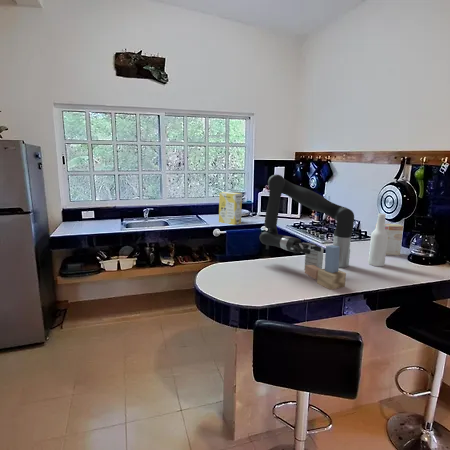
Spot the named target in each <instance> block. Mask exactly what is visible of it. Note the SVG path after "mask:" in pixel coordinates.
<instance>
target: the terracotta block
mask: <svg viewBox="0 0 450 450" xmlns="http://www.w3.org/2000/svg"><path fill="white" fill-rule="evenodd" d="M304 268H305V270H304V273H305V274H306V275H308V276H309V277H311V278H312V279H314V280H317V277H318V270H320V268H318V267H317V266H315V265H306V266H305V265H304Z"/></svg>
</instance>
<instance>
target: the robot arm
mask: <svg viewBox="0 0 450 450" xmlns="http://www.w3.org/2000/svg"><path fill="white" fill-rule="evenodd" d="M267 187H268V190H269V191H268V194H269V195H268V202H267V207H266V211H265V217H264V223H263V224H264V226H265V228H268V231H264V232H261V233H260V234H259V241H260V242H261V244H263V245H266V246H271V247H272V246H273V247H277V248H280V249H283V250H285V251H288V252H292V253H295V254H300V253H301V254H310V252H311V250H315V251H319V252H321V246H318V244H317V243H311V242H302V240H301V239H299V238H297V237H293V236H288V235H285V234H284V235H283V234H279V233H278V226H277V225H278V218H279V210H280V204H281V203H280V202H281V198H282V194H283V195H286V196H287V197H289V198H291V199H292V200H294V201H295V202H297V203H298V204H300V205H302V206H304V207H306V208H308V209H310V210H312V211H315V212H319V213H322V214H325V215H327V216H329V217H330V218H332V219H334V220H335V221H336V226H335V230H334V231H333V238H332V239H333V241H332V245H334V246H339V247H340V251H339V268H347V267H349V265H350V258H351V257H350V255H351V241H352V233H353V231H354V225H355V224H354V223H355V214H354V212H353V210H351V209H350V208H348V207H346V206H342V205H339V204H336V203H334V202H331V201H330V200H329V199H327V198H325V196H323V195H320V193H317V192H315V191H313V190H311V189H308V188H306V187H303V186H300V185H297V184H294V183H292V182H291V181H289V180H287V179H285V178H284V176H282V175H281V174H272V175H271V176H269V178H268V180H267ZM308 248H309V249H308Z"/></svg>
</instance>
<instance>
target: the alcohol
mask: <svg viewBox="0 0 450 450" xmlns="http://www.w3.org/2000/svg"><path fill="white" fill-rule="evenodd" d="M377 214H378V215H377V220H376V224H377V225H376V224H375V228H376V229H373V231H372V232H371V234H370V241H369V242H370V244H369V250H368V251H369V254H368V261H367V262H368V265H369V266H373V267H377V268H378V267H384V266H385V263H386V256H387V255H386V249H387V240H388V234H387V232H386V231H385V224H386V218H387V217H386V216H387V214H386V213H381V212H379V213H377Z"/></svg>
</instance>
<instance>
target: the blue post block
mask: <svg viewBox="0 0 450 450" xmlns="http://www.w3.org/2000/svg"><path fill="white" fill-rule="evenodd" d="M339 251H340V247H339V246H334V245H333V244H330V245H326V246H325V259H324V269H325V271H327V272H331V273H335V272H338V270H339V268H340V267H339Z"/></svg>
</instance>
